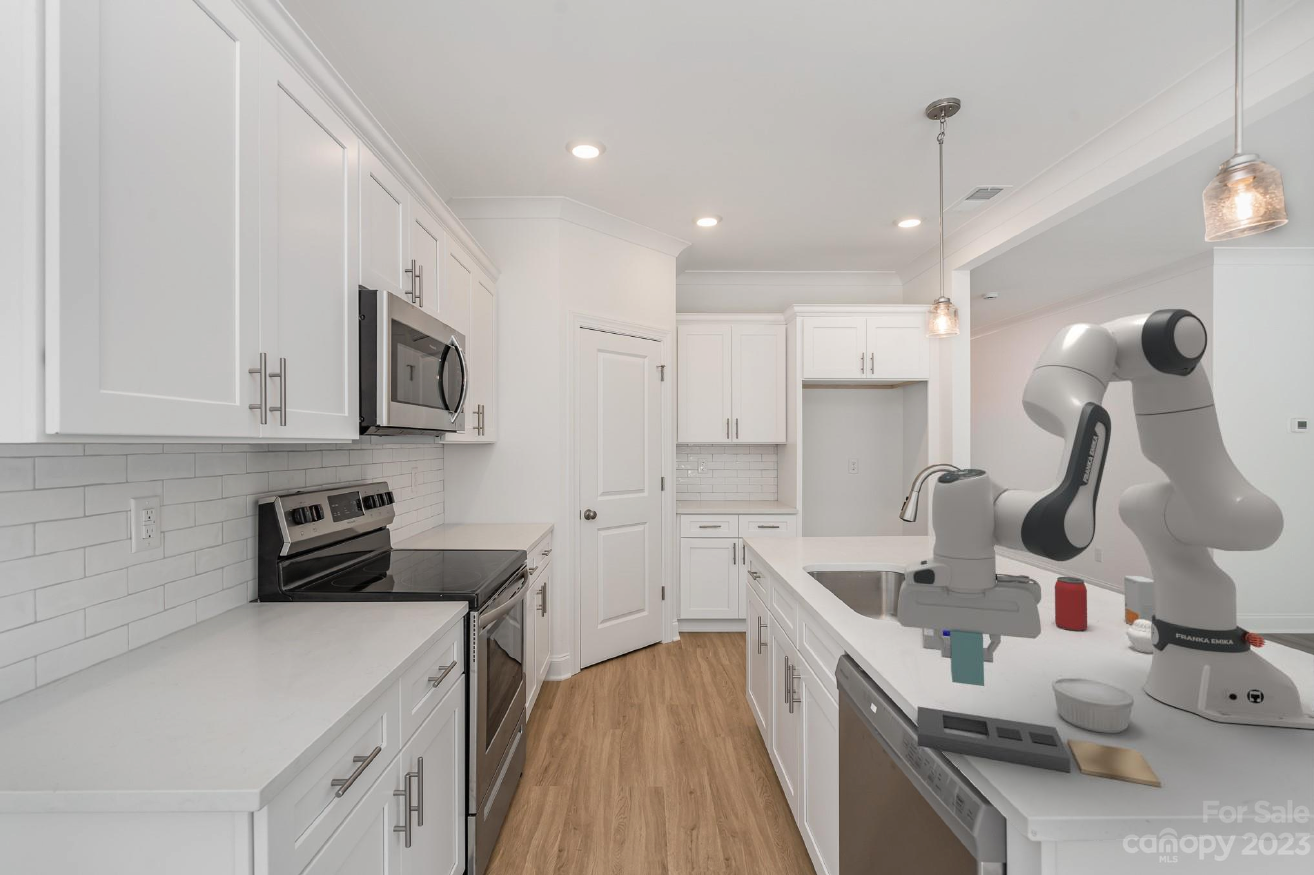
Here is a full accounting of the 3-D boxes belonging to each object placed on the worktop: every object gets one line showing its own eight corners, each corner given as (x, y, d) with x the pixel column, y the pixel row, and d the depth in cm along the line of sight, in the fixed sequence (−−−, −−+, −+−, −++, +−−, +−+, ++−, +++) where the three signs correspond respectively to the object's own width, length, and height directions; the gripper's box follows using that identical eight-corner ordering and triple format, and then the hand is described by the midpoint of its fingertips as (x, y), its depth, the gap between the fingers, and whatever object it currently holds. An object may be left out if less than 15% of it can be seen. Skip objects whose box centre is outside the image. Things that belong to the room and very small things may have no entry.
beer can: (1093, 631, 146) (1093, 582, 146) (1066, 631, 146) (1065, 582, 146) (1075, 623, 153) (1074, 576, 153) (1049, 623, 153) (1048, 576, 153)
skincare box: (1123, 622, 153) (1123, 575, 153) (1142, 623, 152) (1141, 575, 152) (1139, 630, 147) (1139, 581, 147) (1159, 630, 146) (1158, 581, 146)
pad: (1138, 754, 90) (1138, 750, 90) (1160, 787, 82) (1160, 782, 82) (1067, 743, 94) (1067, 739, 94) (1081, 773, 86) (1081, 768, 86)
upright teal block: (981, 675, 97) (980, 625, 97) (984, 686, 93) (982, 634, 93) (951, 671, 99) (949, 623, 98) (952, 682, 94) (951, 631, 94)
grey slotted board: (1055, 740, 95) (1055, 726, 95) (1070, 772, 86) (1069, 758, 86) (917, 718, 103) (917, 705, 103) (917, 745, 94) (917, 732, 94)
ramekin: (1083, 702, 109) (1082, 673, 109) (1151, 730, 98) (1150, 698, 98) (1036, 712, 105) (1036, 681, 105) (1102, 742, 94) (1101, 708, 94)
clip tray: (964, 629, 149) (964, 617, 149) (969, 653, 133) (969, 639, 133) (923, 625, 153) (923, 613, 153) (924, 647, 137) (924, 634, 137)
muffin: (1162, 649, 134) (1161, 618, 134) (1162, 657, 129) (1161, 625, 129) (1126, 643, 138) (1126, 613, 138) (1125, 651, 133) (1125, 619, 133)
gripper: (1036, 571, 94) (1039, 659, 94) (896, 564, 103) (899, 645, 103) (1044, 581, 89) (1047, 674, 89) (895, 572, 97) (897, 658, 97)
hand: (966, 658), depth 96 cm, fingers closed on upright teal block, 4 cm apart
